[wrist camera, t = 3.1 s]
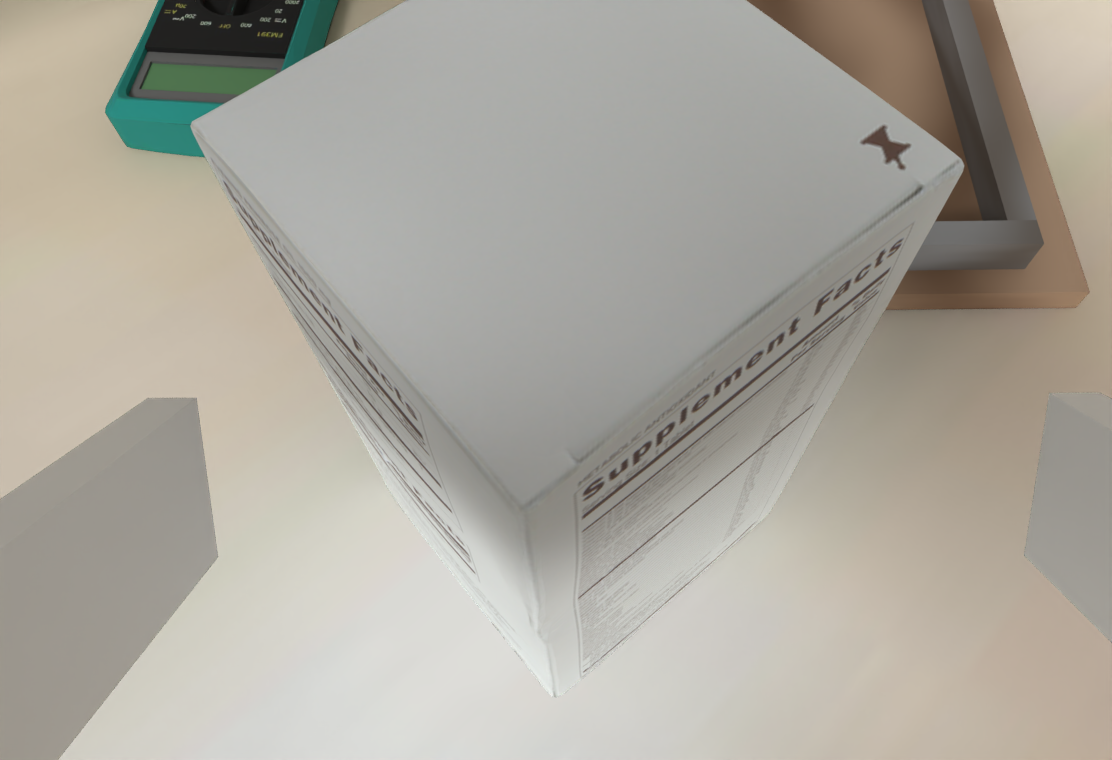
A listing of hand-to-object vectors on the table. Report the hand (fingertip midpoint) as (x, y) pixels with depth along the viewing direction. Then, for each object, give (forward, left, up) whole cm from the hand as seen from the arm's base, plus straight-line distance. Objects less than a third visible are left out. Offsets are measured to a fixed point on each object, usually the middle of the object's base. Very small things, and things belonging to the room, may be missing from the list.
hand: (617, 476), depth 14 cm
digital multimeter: (-15, +27, -15) cm, 34 cm away
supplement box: (-1, +5, -15) cm, 16 cm away
